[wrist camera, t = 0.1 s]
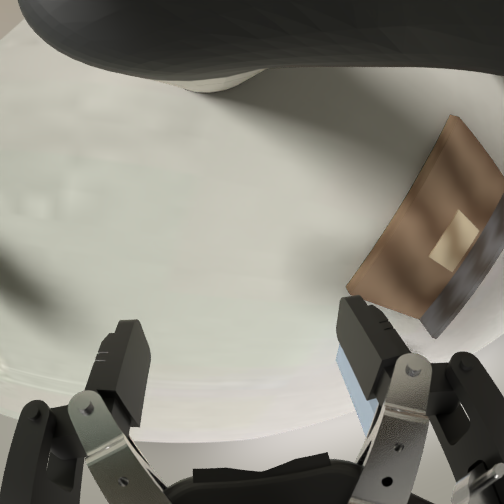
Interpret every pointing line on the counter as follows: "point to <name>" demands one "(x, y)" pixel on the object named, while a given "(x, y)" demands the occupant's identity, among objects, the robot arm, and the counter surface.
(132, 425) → the robot arm
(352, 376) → the carton
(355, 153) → the counter surface
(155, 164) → the counter surface
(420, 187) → the shelf
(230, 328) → the counter surface
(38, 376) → the counter surface
